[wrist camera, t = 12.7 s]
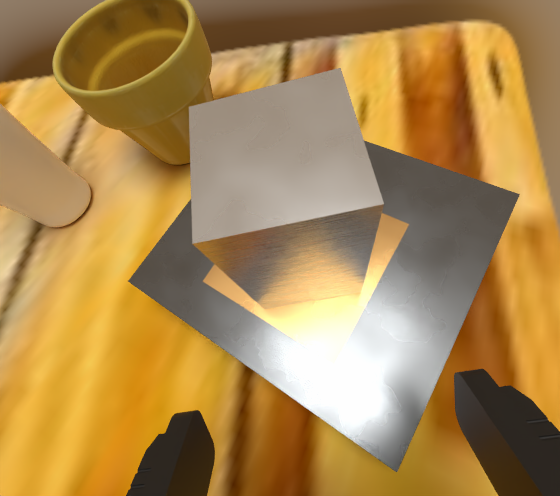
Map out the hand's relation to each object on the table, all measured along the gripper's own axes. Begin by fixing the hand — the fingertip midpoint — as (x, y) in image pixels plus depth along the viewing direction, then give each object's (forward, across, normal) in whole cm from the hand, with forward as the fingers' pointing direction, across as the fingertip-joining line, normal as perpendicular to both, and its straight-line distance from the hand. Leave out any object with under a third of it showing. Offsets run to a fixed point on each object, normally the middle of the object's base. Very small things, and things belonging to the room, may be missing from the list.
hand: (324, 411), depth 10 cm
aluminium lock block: (+10, 0, -1) cm, 10 cm away
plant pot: (+24, +9, -9) cm, 27 cm away
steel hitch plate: (+13, -1, +1) cm, 13 cm away
